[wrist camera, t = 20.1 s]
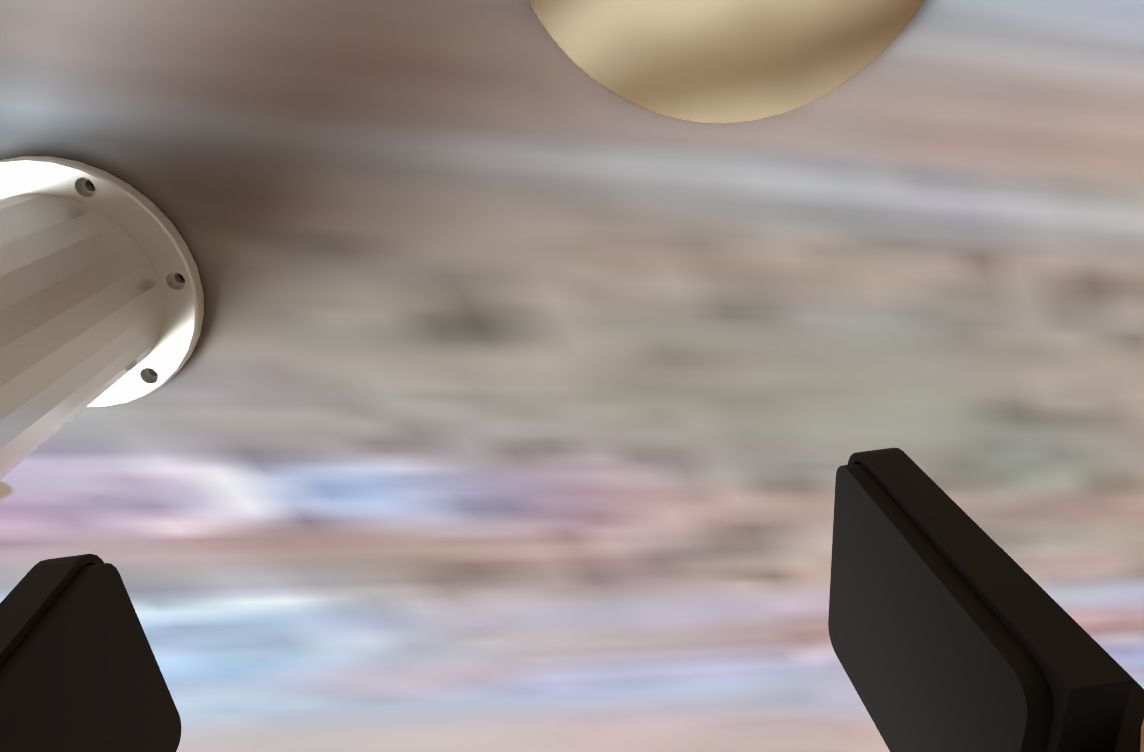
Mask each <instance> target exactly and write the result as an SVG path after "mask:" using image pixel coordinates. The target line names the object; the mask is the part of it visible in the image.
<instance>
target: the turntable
mask: <svg viewBox="0 0 1144 752" xmlns="http://www.w3.org/2000/svg"><path fill="white" fill-rule="evenodd" d="M923 1H924V0H529V2H530V4H531V6H532V8H533V10H534V12H535V14H536V15H537V17H538V18H539V20H540V21H541V23H542V24H543V26H544V27H545V29H546V30H547V32H548V33H549V35H550V36H551V38H552V39H553V40H554V41H555V42H556V43H557V45H558V46H559V47H560V48H561V49H562V50H563V51H564V53H565V54H566V55H567V56H568V57H569V58H570V60H571V61H573V62H574V63H575V64H576V65H577V66H578V67H579V68H580V69H582V70H583V71H584V72H585V73H586V74H587V75H588V76H589V77H591V78H592V79H593V80H594V81H596V82H597V83H599V84H600V85H602V86H603V87H605V88H606V89H608V90H609V91H611V92H612V93H614V94H615V95H617V96H619V97H621V98H623V99H625V100H627V101H629V102H632V103H634V104H636V105H638V106H640V107H642V108H644V109H646V110H649V111H652V112H655V113H659V114H662V115H665V116H668V117H671V118H676V119H682V120H688V121H694V122H699V123H735V122H744V121H753V120H759V119H762V118H766V117H770V116H774V115H778V114H782V113H785V112H788V111H790V110H793V109H795V108H798V107H800V106H803V105H806V104H808V103H811V102H812V101H814V100H816V99H818V98H820V97H822V96H823V95H825V94H827V93H829V92H831V91H832V90H834V89H836V88H838V87H839V86H841V85H842V84H843V83H845V82H846V81H847V80H849V79H850V78H852V77H853V76H854V75H856V74H857V73H859V72H860V71H861V70H863V69H864V68H865V67H866V66H867V65H868V64H869V63H870V62H872V61H873V60H874V59H875V58H876V57H877V56H878V55H879V54H880V53H881V52H883V51H884V50H885V49H886V48H887V47H888V46H889V44H890V43H891V42H892V41H893V40H894V39H895V38H896V36H897V35H898V34H899V33H900V32H901V31H902V30H903V29H904V27H905V26H906V25H907V24H908V23H909V21H910V20H911V18H912V17H913V16H914V14H915V13H916V11H917V10H918V9H919V7H920V6H921V4H922V3H923Z"/></svg>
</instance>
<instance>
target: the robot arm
mask: <svg viewBox="0 0 1144 752" xmlns="http://www.w3.org/2000/svg"><path fill="white" fill-rule="evenodd" d="M90 181H92V183H93V184H94V186H95V189H94V188H93V187H92V186H91V185H90ZM179 274H181V275H182V276H183V277H184V279H185V280H182V279H180V277H179ZM203 317H204V298H203V288H202V284H201V280H200V276H199V272H198V268H197V266H196V264H195V261H194V259H193V257H192V255H191V253H190V250H189V248H188V246H187V244H186V243H185V241H184V240H183V238H182V237H181V235H180V234H179V232H178V231H177V229H176V228H175V226H174V225H173V223H172V222H171V221H170V220H169V219H168V218H167V217H166V216H165V215H164V214H163V213H162V212H161V211H160V210H159V208H158V207H157V206H156V205H155V204H154V203H153V202H151V201H150V200H149V199H148V198H146V197H145V196H144V195H143V194H141V193H140V192H139V191H137V190H136V189H135V188H134V187H132V186H131V185H129V184H127V183H126V182H124V181H122V180H120V179H119V178H117V177H115V176H113V175H111V174H110V173H108V172H106V171H103V170H101V169H98V168H95V167H93V166H90V165H87V164H84V163H82V162H79V161H74V160H69V159H63V158H58V157H53V156H21V157H16V158H10V159H4V160H0V479H1V478H2V477H3V476H5V475H6V474H7V473H8V472H9V471H11V470H12V469H13V468H14V467H15V466H17V465H18V464H19V463H20V462H21V461H22V460H24V459H25V458H26V457H27V456H28V455H30V454H31V453H32V452H33V451H34V450H36V449H37V448H38V447H39V446H40V445H42V444H43V443H44V442H45V441H46V440H48V439H49V438H50V437H51V436H52V435H54V434H55V433H56V432H57V431H58V430H60V429H61V428H62V427H63V426H64V425H66V424H67V423H68V422H69V421H70V420H72V419H73V418H74V417H75V416H76V415H78V414H79V413H80V412H81V411H82V410H83V409H85V408H92V407H110V406H115V405H120V404H126V403H129V402H132V401H134V400H137V399H139V398H142V397H144V396H147V395H149V394H151V393H152V392H154V391H155V390H157V389H158V388H160V387H161V386H163V385H164V384H166V383H167V382H168V381H169V380H170V379H171V378H172V377H173V376H174V375H175V374H176V373H177V372H178V371H179V370H180V369H181V368H182V367H183V365H184V364H185V363H186V361H187V360H188V359H189V357H190V356H191V355H192V353H193V351H194V348H195V346H196V344H197V341H198V339H199V337H200V334H201V328H202V323H203ZM154 370H155V371H156V372H155V371H154ZM828 624H829V635H830V639H831V643H832V646H833V649H834V651H835V653H836V655H837V657H838V659H839V661H840V662H841V664H842V666H843V668H844V669H845V671H846V673H847V675H848V677H849V678H850V680H851V682H852V684H853V686H854V687H855V689H856V691H857V693H858V695H859V696H860V698H861V700H862V702H863V704H864V705H865V707H866V709H867V711H868V713H869V714H870V716H871V718H872V720H873V721H874V723H875V725H876V727H877V729H878V730H879V732H880V734H881V736H882V738H883V739H884V741H885V743H886V745H887V747H888V748H889V750H890V752H1144V689H1143V688H1142V687H1141V686H1140V685H1139V684H1138V683H1137V682H1136V681H1135V680H1134V679H1133V678H1132V677H1131V676H1130V675H1129V674H1128V673H1127V672H1126V671H1125V670H1124V669H1123V668H1122V667H1121V666H1120V665H1119V664H1118V663H1117V662H1116V661H1115V660H1114V659H1113V658H1112V657H1111V656H1110V655H1109V654H1108V653H1107V652H1106V651H1105V650H1104V649H1103V648H1102V647H1101V646H1100V645H1099V644H1098V643H1097V642H1096V641H1095V640H1094V639H1092V638H1091V637H1090V636H1089V635H1088V634H1087V633H1086V632H1085V631H1084V630H1083V629H1082V628H1081V627H1080V626H1079V625H1078V624H1077V623H1076V622H1075V621H1074V620H1073V619H1072V618H1071V617H1070V616H1069V615H1068V614H1067V613H1066V612H1065V611H1064V610H1063V609H1062V608H1061V607H1060V606H1059V605H1058V604H1057V603H1056V602H1055V601H1054V600H1053V599H1052V598H1051V597H1050V596H1049V595H1048V594H1047V593H1046V592H1045V591H1044V590H1043V589H1042V588H1041V587H1040V586H1039V585H1038V584H1037V583H1036V582H1035V581H1034V580H1033V579H1032V578H1031V577H1030V576H1029V575H1028V574H1027V573H1026V572H1025V571H1024V570H1023V569H1022V568H1021V567H1020V566H1019V565H1018V564H1017V563H1016V562H1015V561H1014V560H1013V559H1012V558H1011V557H1010V556H1009V555H1008V554H1007V553H1006V552H1005V551H1004V550H1003V549H1002V548H1000V547H999V546H998V545H997V544H996V543H995V542H994V541H993V540H992V539H991V538H990V537H989V536H988V535H987V534H986V533H985V532H984V531H983V530H982V529H981V528H980V527H979V526H978V525H977V524H976V523H975V522H974V521H973V520H972V519H971V518H970V517H969V516H968V515H967V514H966V513H965V512H964V511H963V510H962V509H961V508H960V507H959V506H958V505H957V504H956V503H955V502H954V501H953V500H952V499H951V498H950V497H949V496H948V495H947V494H946V493H945V492H944V491H943V490H942V489H941V488H940V487H938V486H937V485H936V484H935V483H934V482H933V481H932V480H931V479H930V478H929V477H928V476H927V475H926V474H925V473H924V472H923V471H922V470H921V469H920V468H919V467H918V466H917V465H916V464H915V463H914V462H913V461H912V460H911V459H910V458H909V457H908V456H907V455H906V454H905V453H904V452H903V451H902V450H900V449H899V448H888V449H881V450H873V451H865V452H858V453H854V454H852V455H851V456H850V459H849V461H848V465H844V466H840V467H839V468H838V470H837V473H836V485H835V505H834V524H833V544H832V563H831V583H830V602H829V622H828ZM180 737H181V720H180V717H179V713H178V711H177V709H176V706H175V704H174V702H173V699H172V697H171V695H170V692H169V690H168V687H167V685H166V683H165V680H164V678H163V676H162V673H161V671H160V669H159V666H158V664H157V662H156V659H155V657H154V654H153V652H152V650H151V647H150V645H149V643H148V640H147V638H146V636H145V633H144V631H143V628H142V626H141V624H140V621H139V619H138V617H137V614H136V612H135V610H134V607H133V605H132V603H131V600H130V598H129V595H128V593H127V591H126V588H125V586H124V584H123V581H122V579H121V577H120V574H119V572H118V570H117V569H116V567H114V566H113V565H112V564H109V563H105V564H104V562H103V561H102V559H100V558H99V557H98V556H97V555H93V554H85V555H78V556H70V557H63V558H55V559H47V560H44V561H40V562H39V563H38V564H36V565H35V566H34V567H33V568H32V569H31V570H30V571H29V572H28V573H27V575H26V576H25V577H24V578H23V579H22V580H21V581H20V582H19V583H18V584H17V586H16V587H15V588H14V589H13V590H12V591H11V592H10V593H9V594H8V596H7V597H6V598H5V599H4V600H3V601H2V602H1V603H0V752H176V750H177V748H178V745H179V742H180Z"/></svg>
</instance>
